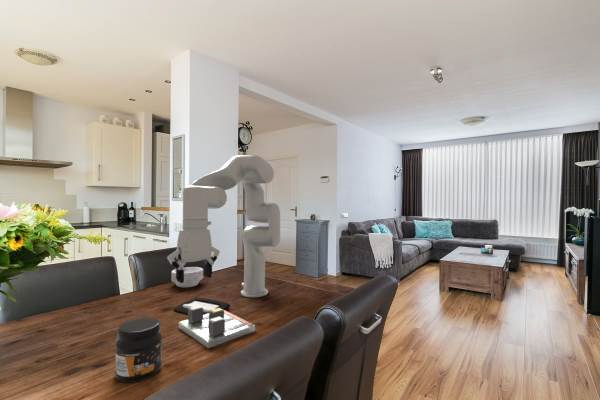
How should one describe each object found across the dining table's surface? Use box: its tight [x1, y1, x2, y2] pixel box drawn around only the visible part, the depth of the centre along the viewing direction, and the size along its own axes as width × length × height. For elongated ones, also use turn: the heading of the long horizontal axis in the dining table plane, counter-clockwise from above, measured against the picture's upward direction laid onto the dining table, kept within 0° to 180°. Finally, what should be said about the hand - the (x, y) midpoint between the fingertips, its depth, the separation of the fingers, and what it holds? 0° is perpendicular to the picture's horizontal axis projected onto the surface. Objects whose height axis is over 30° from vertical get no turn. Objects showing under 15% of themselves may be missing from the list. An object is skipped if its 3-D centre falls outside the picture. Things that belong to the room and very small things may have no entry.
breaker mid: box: [209, 308, 224, 320], centre depth 103 cm, size 3×4×4 cm
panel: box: [178, 310, 256, 349], centre depth 103 cm, size 20×17×2 cm
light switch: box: [173, 297, 231, 316], centre depth 121 cm, size 20×3×14 cm
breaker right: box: [208, 317, 225, 336], centre depth 95 cm, size 3×4×4 cm
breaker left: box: [187, 306, 203, 323], centre depth 105 cm, size 3×4×4 cm
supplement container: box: [114, 317, 163, 383], centre depth 77 cm, size 10×10×12 cm
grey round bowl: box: [171, 266, 204, 288], centre depth 155 cm, size 15×15×8 cm
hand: (194, 279), depth 97 cm, fingers open, 8 cm apart
